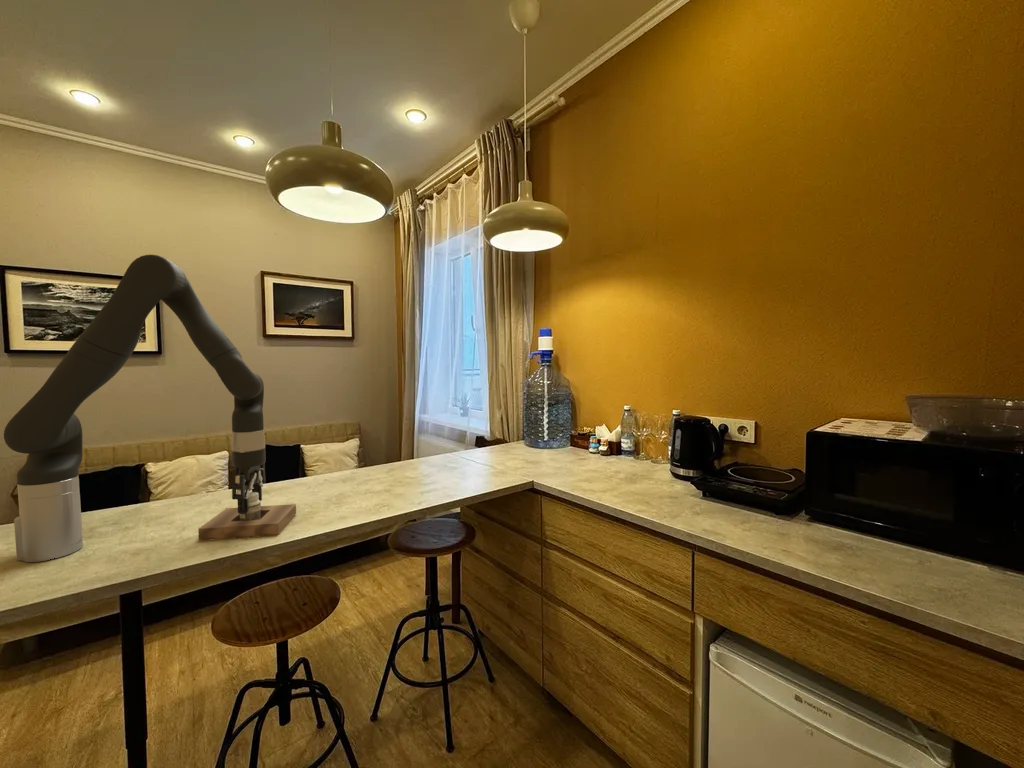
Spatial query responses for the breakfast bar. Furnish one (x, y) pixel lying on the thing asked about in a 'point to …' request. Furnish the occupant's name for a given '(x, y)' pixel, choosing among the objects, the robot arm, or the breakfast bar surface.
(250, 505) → the pill bottle
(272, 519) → the socket block
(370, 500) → the breakfast bar surface
